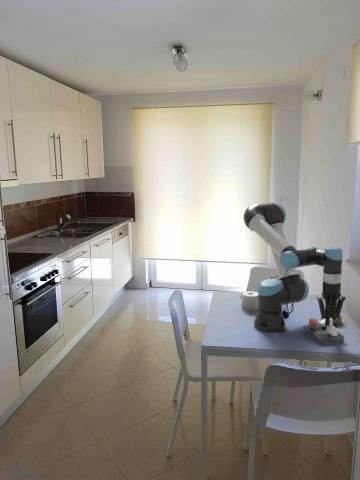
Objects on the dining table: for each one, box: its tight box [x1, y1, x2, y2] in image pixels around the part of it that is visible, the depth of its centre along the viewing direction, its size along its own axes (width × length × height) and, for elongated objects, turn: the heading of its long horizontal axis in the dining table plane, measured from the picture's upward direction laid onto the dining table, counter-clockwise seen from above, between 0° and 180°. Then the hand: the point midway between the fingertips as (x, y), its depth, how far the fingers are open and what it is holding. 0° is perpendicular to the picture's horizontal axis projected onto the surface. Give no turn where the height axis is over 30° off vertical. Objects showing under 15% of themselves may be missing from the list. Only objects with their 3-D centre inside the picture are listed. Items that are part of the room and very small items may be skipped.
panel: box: [303, 324, 345, 345], centre depth 177 cm, size 12×14×4 cm
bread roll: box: [320, 314, 343, 327], centre depth 194 cm, size 10×10×8 cm
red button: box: [308, 318, 318, 326], centre depth 180 cm, size 4×4×2 cm
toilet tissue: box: [240, 290, 258, 312], centre depth 217 cm, size 9×13×9 cm
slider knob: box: [330, 326, 339, 336], centre depth 172 cm, size 2×4×4 cm, turn 9°
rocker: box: [317, 319, 326, 327], centre depth 181 cm, size 5×4×2 cm
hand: (329, 332), depth 171 cm, fingers closed
